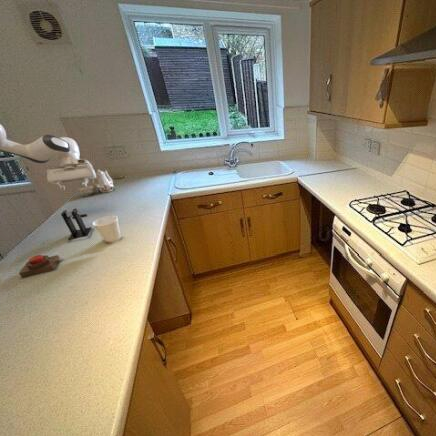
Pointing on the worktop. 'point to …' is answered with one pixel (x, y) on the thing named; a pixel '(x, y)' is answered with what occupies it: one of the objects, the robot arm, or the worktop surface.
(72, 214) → the lever
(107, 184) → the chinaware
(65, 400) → the worktop surface
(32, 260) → the button
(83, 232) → the bracket
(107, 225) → the cup
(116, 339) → the worktop surface
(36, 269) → the button block
